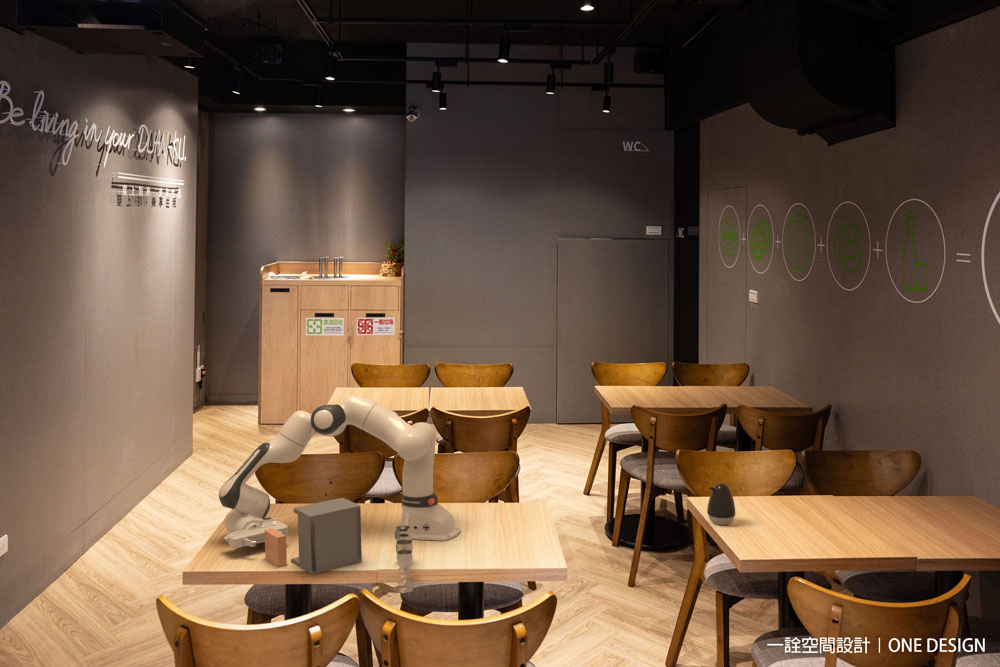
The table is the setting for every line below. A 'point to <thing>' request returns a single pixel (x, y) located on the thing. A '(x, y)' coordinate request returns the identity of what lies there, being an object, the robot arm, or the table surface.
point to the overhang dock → (328, 535)
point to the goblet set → (404, 555)
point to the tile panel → (275, 547)
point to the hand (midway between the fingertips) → (267, 541)
